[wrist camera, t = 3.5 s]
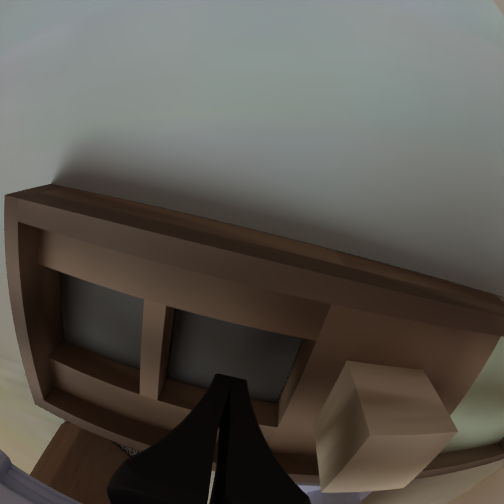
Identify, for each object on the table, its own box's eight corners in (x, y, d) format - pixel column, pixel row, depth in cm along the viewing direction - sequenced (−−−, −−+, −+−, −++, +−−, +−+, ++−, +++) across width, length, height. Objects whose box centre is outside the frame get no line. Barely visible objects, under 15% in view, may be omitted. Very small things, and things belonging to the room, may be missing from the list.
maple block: (384, 427, 14) (403, 487, 10) (313, 423, 14) (321, 492, 10) (423, 369, 13) (458, 431, 9) (346, 360, 13) (370, 434, 9)
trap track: (490, 434, 18) (503, 458, 14) (59, 373, 17) (35, 404, 14) (565, 316, 14) (589, 336, 11) (50, 184, 13) (4, 194, 10)
